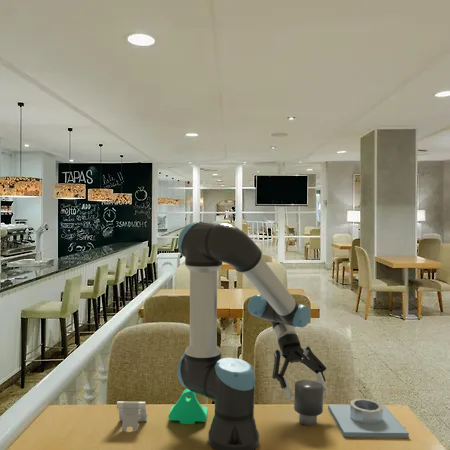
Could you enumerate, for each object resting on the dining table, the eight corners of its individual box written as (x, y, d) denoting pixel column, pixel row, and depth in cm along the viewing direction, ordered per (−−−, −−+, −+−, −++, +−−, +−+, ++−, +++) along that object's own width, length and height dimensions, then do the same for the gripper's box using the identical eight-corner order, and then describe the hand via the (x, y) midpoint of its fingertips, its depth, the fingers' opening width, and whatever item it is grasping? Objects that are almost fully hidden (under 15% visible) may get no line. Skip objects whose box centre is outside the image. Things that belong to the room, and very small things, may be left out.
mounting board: (343, 436, 141) (344, 432, 141) (328, 408, 161) (328, 404, 161) (408, 437, 142) (408, 433, 142) (384, 409, 162) (384, 405, 162)
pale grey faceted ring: (344, 417, 151) (344, 404, 151) (359, 408, 159) (359, 396, 158) (373, 428, 144) (373, 414, 144) (387, 418, 152) (387, 405, 151)
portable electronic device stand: (147, 420, 150) (147, 394, 149) (143, 431, 142) (143, 405, 141) (120, 419, 149) (121, 394, 149) (115, 431, 142) (115, 404, 141)
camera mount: (207, 414, 155) (208, 384, 155) (205, 425, 147) (206, 393, 147) (172, 412, 156) (172, 382, 155) (168, 423, 148) (169, 391, 148)
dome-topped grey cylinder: (288, 421, 151) (289, 385, 151) (304, 412, 158) (305, 378, 157) (312, 431, 145) (313, 393, 144) (327, 421, 151) (328, 385, 151)
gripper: (312, 339, 174) (334, 394, 161) (252, 345, 165) (270, 404, 152) (320, 329, 169) (344, 385, 156) (259, 335, 160) (278, 394, 146)
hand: (307, 394), depth 154 cm, fingers open, 13 cm apart
